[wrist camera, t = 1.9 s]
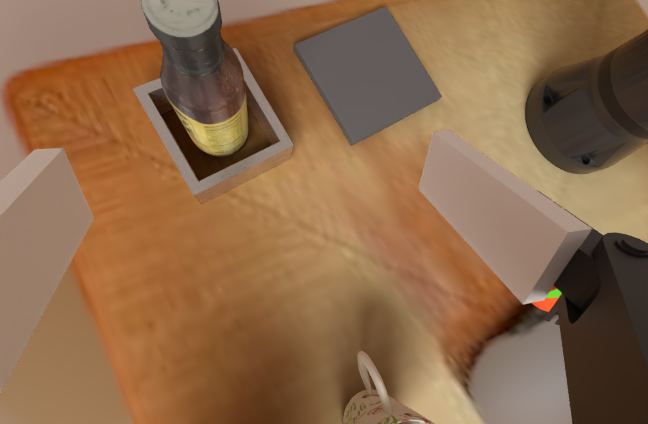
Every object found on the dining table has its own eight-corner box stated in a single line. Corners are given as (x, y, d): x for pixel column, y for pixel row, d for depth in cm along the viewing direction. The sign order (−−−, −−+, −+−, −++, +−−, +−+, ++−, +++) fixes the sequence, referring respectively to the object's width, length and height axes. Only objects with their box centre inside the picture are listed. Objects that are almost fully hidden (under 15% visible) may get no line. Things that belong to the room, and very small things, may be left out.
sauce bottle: (191, 107, 37) (116, -68, 17) (248, 109, 38) (237, -53, 19) (191, 163, 36) (111, 43, 16) (250, 163, 37) (239, 51, 18)
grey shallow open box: (238, 72, 38) (236, 47, 34) (289, 159, 38) (293, 145, 33) (148, 110, 36) (132, 88, 31) (201, 204, 35) (193, 195, 31)
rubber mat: (383, 12, 44) (386, 6, 43) (437, 100, 43) (441, 96, 42) (293, 49, 40) (294, 44, 39) (351, 145, 40) (353, 142, 39)
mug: (346, 476, 34) (380, 561, 24) (309, 355, 35) (328, 390, 25) (416, 440, 35) (474, 506, 26) (379, 328, 37) (421, 350, 27)
